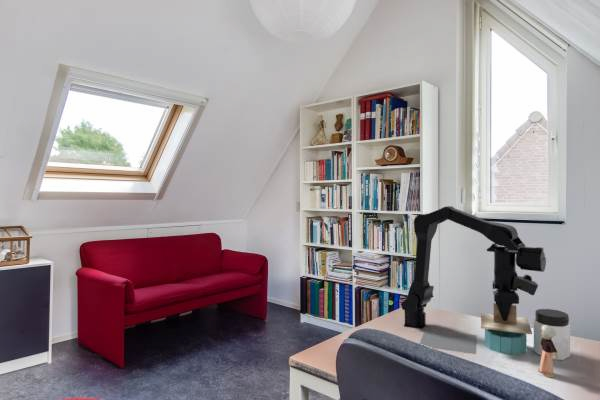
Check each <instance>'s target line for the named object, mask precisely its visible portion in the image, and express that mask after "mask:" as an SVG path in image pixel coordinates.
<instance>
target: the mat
mask: <svg viewBox="0 0 600 400" xmlns="http://www.w3.org/2000/svg"><path fill="white" fill-rule="evenodd" d="M419 344H423V345H426V346H429V347H432V348H431V349H436V350H437V349H438V350H444V351H453V352H458V353H466V354H472V355H476V354H477V334H472V333H471V334H470V333H462V332H453V331H447V330H438V329H430V328H429V329H428V328H425V329H424V331H423V334H422V336H421V339H420V341H419ZM429 347H428V348H429Z"/></svg>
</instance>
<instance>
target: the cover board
mask: <svg viewBox="0 0 600 400" xmlns="http://www.w3.org/2000/svg"><path fill="white" fill-rule="evenodd" d="M480 329H482V330H483V329H484V330H485V329H491V330H499V331H508V332H516V333H525V334H526V335H533V331H532V328H531V326H530V323H529V320H528V317H518V316H517V304H512V305H511V308H510V312H509V315H508V319H507V321H503V319H502V317H501V314H500V312H499V310H498V307H497V305H496V302H494V303H493V314H490V313H480Z"/></svg>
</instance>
